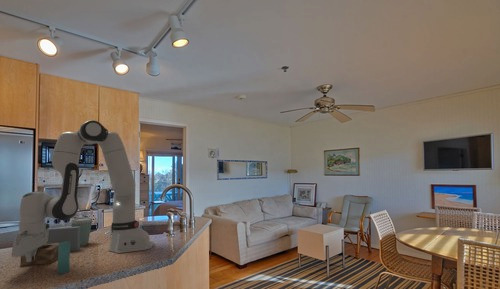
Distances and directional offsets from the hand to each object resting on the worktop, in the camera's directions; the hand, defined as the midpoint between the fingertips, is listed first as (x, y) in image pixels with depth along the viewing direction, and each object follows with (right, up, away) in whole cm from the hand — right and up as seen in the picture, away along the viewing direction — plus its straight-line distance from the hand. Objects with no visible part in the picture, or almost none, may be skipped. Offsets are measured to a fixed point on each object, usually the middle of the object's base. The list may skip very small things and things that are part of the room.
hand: (30, 260), depth 117 cm
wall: (-5, -5, +23) cm, 24 cm away
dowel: (+18, -2, -6) cm, 19 cm away
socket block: (-2, -4, +10) cm, 11 cm away
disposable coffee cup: (0, -6, +35) cm, 36 cm away
